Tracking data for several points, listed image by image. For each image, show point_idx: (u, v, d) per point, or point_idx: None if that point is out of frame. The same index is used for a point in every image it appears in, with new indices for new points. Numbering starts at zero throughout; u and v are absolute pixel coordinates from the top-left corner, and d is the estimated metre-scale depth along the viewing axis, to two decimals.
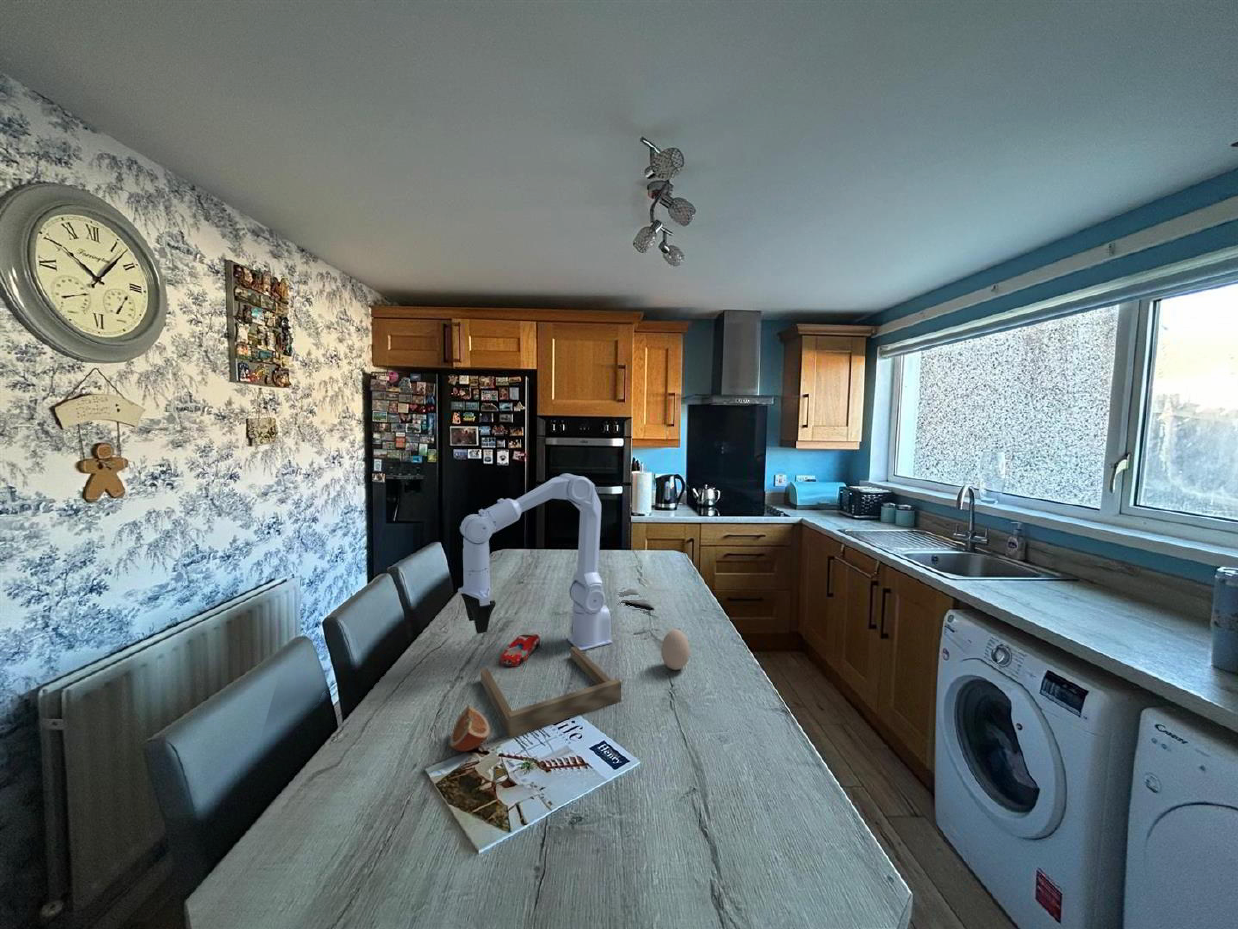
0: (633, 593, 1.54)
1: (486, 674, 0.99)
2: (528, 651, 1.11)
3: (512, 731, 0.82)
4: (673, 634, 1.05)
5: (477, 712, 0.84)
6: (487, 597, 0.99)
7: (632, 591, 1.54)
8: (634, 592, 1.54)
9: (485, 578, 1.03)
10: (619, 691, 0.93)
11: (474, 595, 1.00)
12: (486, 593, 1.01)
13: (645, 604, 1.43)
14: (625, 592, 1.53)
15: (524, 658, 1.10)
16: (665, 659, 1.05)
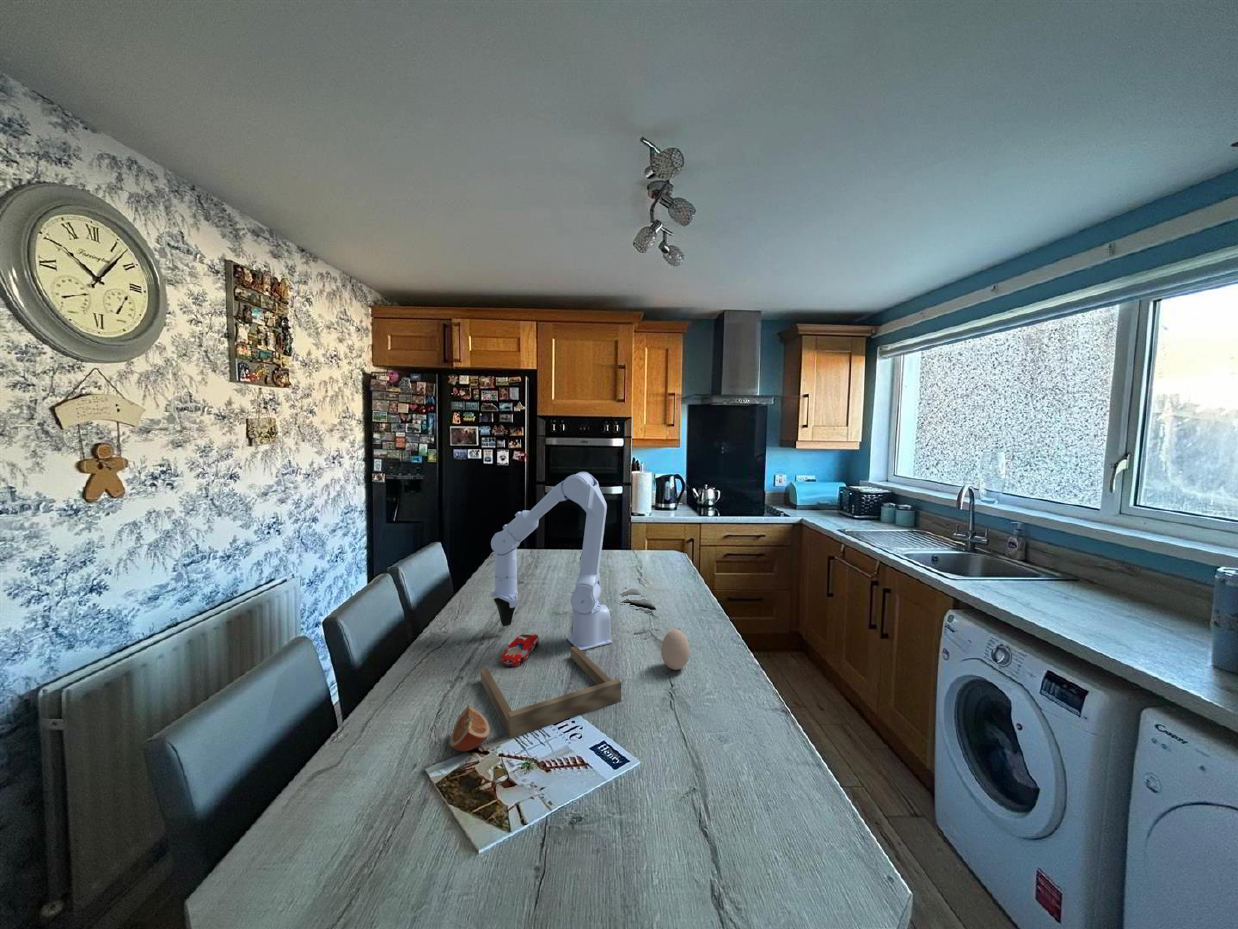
0: (635, 593, 1.54)
1: (486, 674, 0.99)
2: (528, 651, 1.11)
3: (512, 731, 0.82)
4: (673, 634, 1.05)
5: (477, 712, 0.84)
6: (516, 600, 1.16)
7: (634, 591, 1.55)
8: (636, 592, 1.54)
9: (513, 584, 1.21)
10: (619, 691, 0.93)
11: (505, 598, 1.18)
12: (514, 597, 1.19)
13: (647, 604, 1.43)
14: (627, 592, 1.54)
15: (524, 658, 1.10)
16: (665, 659, 1.05)
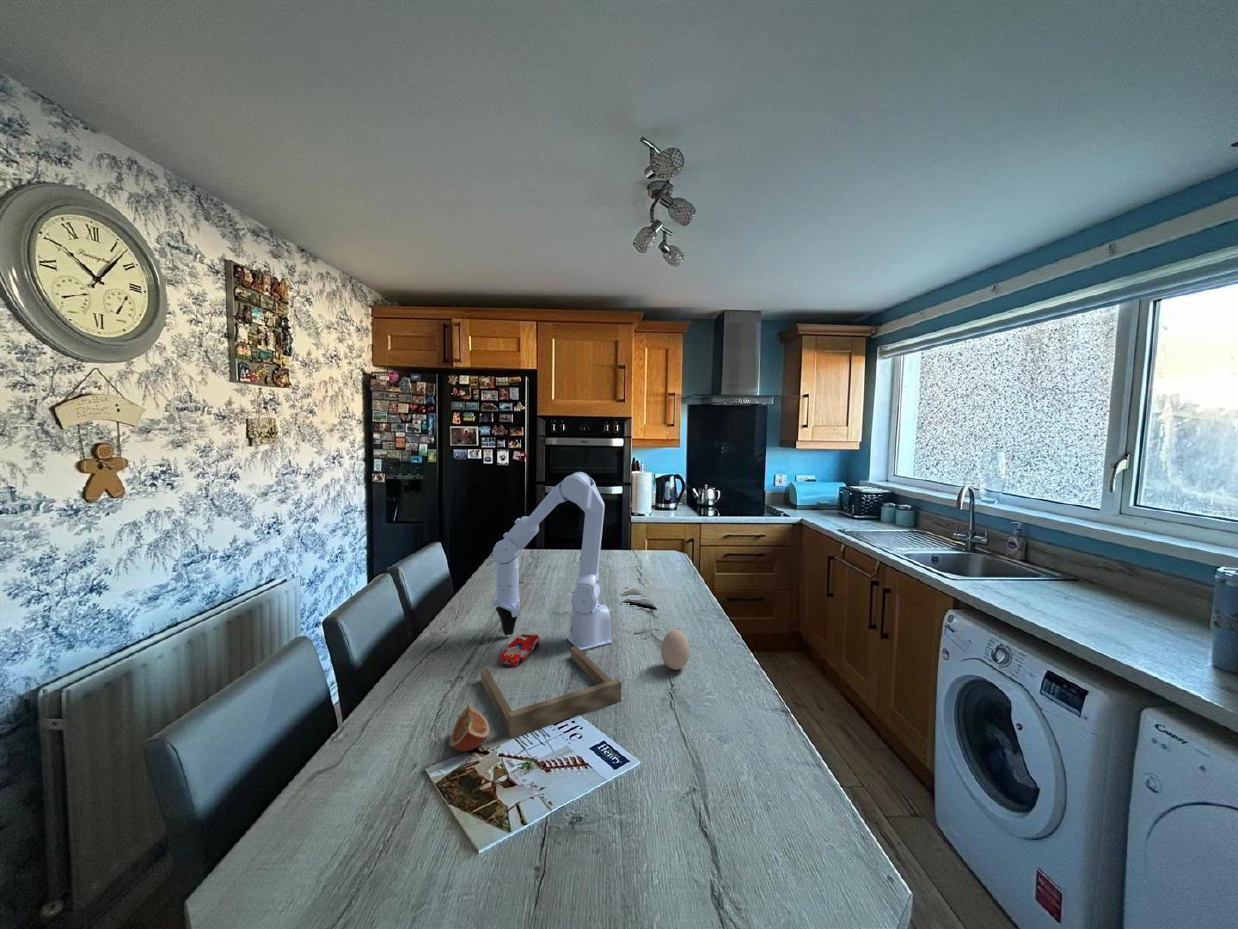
0: (636, 593, 1.54)
1: (486, 674, 0.99)
2: (527, 651, 1.11)
3: (512, 731, 0.82)
4: (673, 634, 1.05)
5: (477, 712, 0.84)
6: (518, 609, 1.15)
7: (635, 591, 1.55)
8: (637, 592, 1.54)
9: (515, 593, 1.20)
10: (619, 691, 0.93)
11: (507, 608, 1.17)
12: (517, 606, 1.18)
13: (648, 604, 1.43)
14: (628, 592, 1.54)
15: (523, 658, 1.10)
16: (665, 659, 1.05)
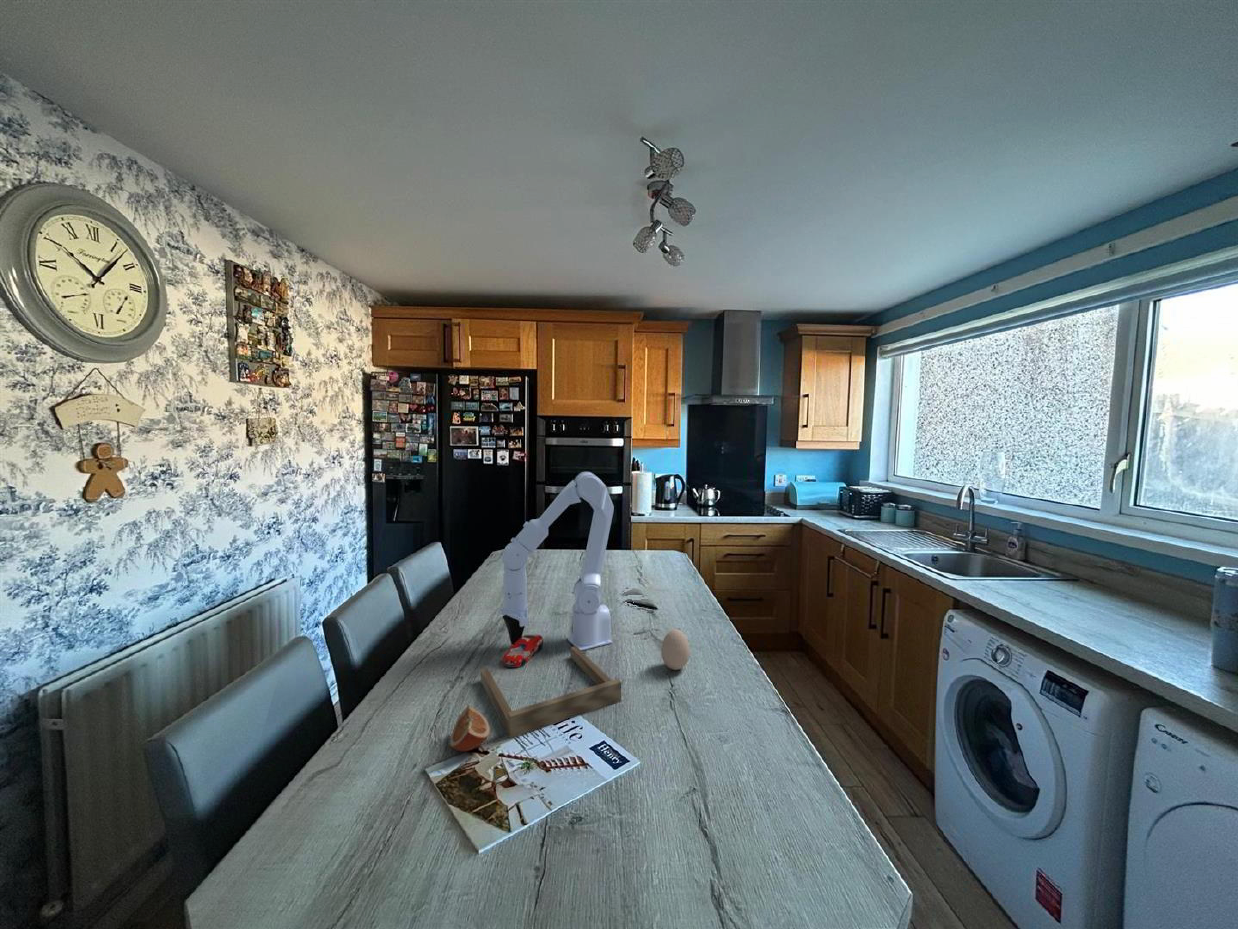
0: (637, 593, 1.54)
1: (486, 674, 0.99)
2: (530, 652, 1.11)
3: (512, 731, 0.82)
4: (673, 634, 1.05)
5: (477, 712, 0.84)
6: (526, 618, 1.10)
7: (636, 591, 1.55)
8: (638, 592, 1.55)
9: (523, 601, 1.14)
10: (619, 691, 0.93)
11: (514, 616, 1.11)
12: (525, 614, 1.12)
13: (649, 604, 1.43)
14: (629, 591, 1.54)
15: (526, 659, 1.09)
16: (665, 659, 1.05)
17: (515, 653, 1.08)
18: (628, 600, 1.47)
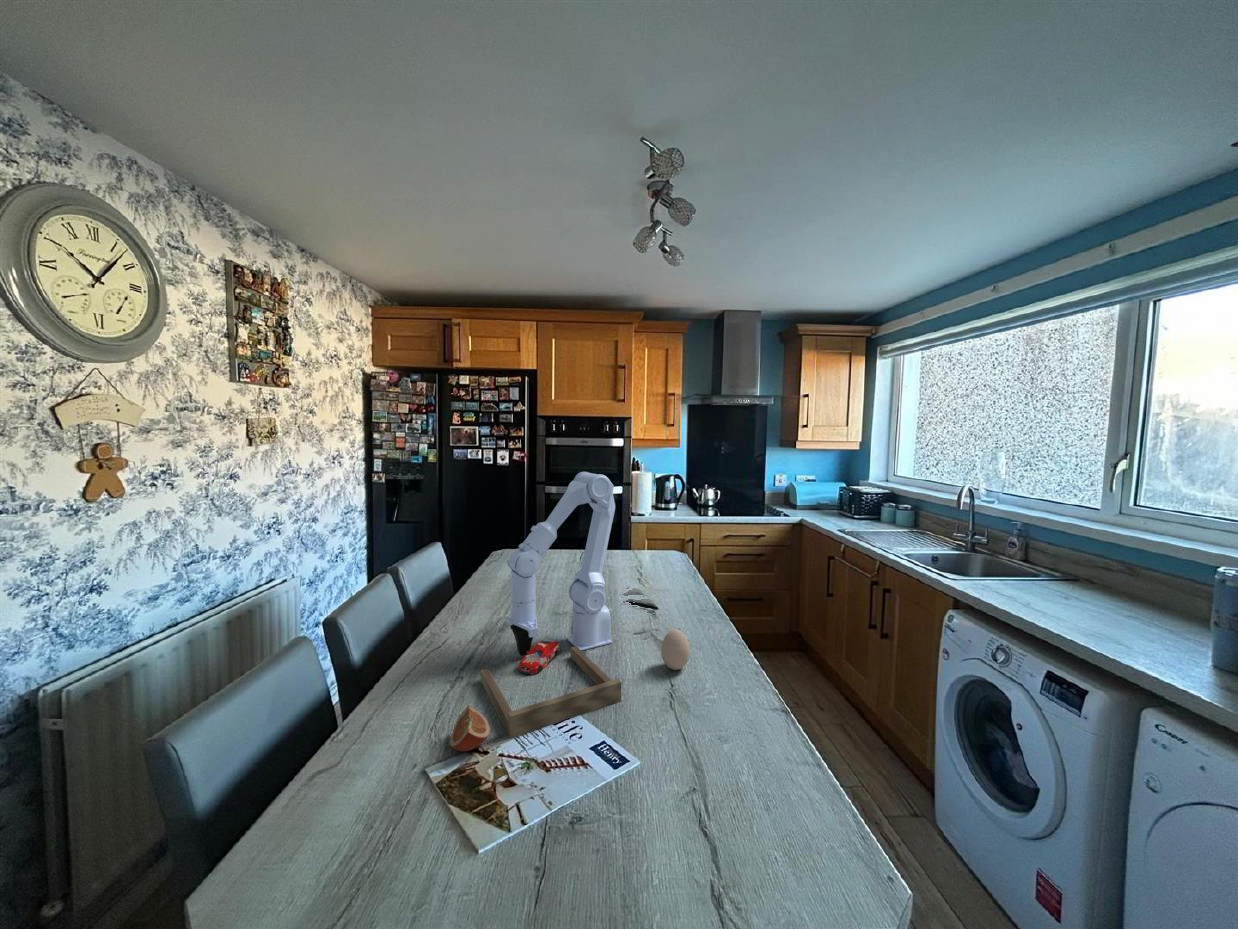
0: (637, 592, 1.54)
1: (486, 674, 0.99)
2: (547, 659, 1.08)
3: (512, 731, 0.82)
4: (673, 634, 1.05)
5: (477, 712, 0.84)
6: (536, 629, 1.04)
7: (636, 590, 1.55)
8: (638, 591, 1.55)
9: (532, 610, 1.08)
10: (619, 691, 0.93)
11: (523, 626, 1.05)
12: (534, 624, 1.06)
13: (649, 603, 1.43)
14: (629, 591, 1.54)
15: (543, 666, 1.06)
16: (665, 659, 1.05)
17: (531, 659, 1.05)
18: (629, 600, 1.47)
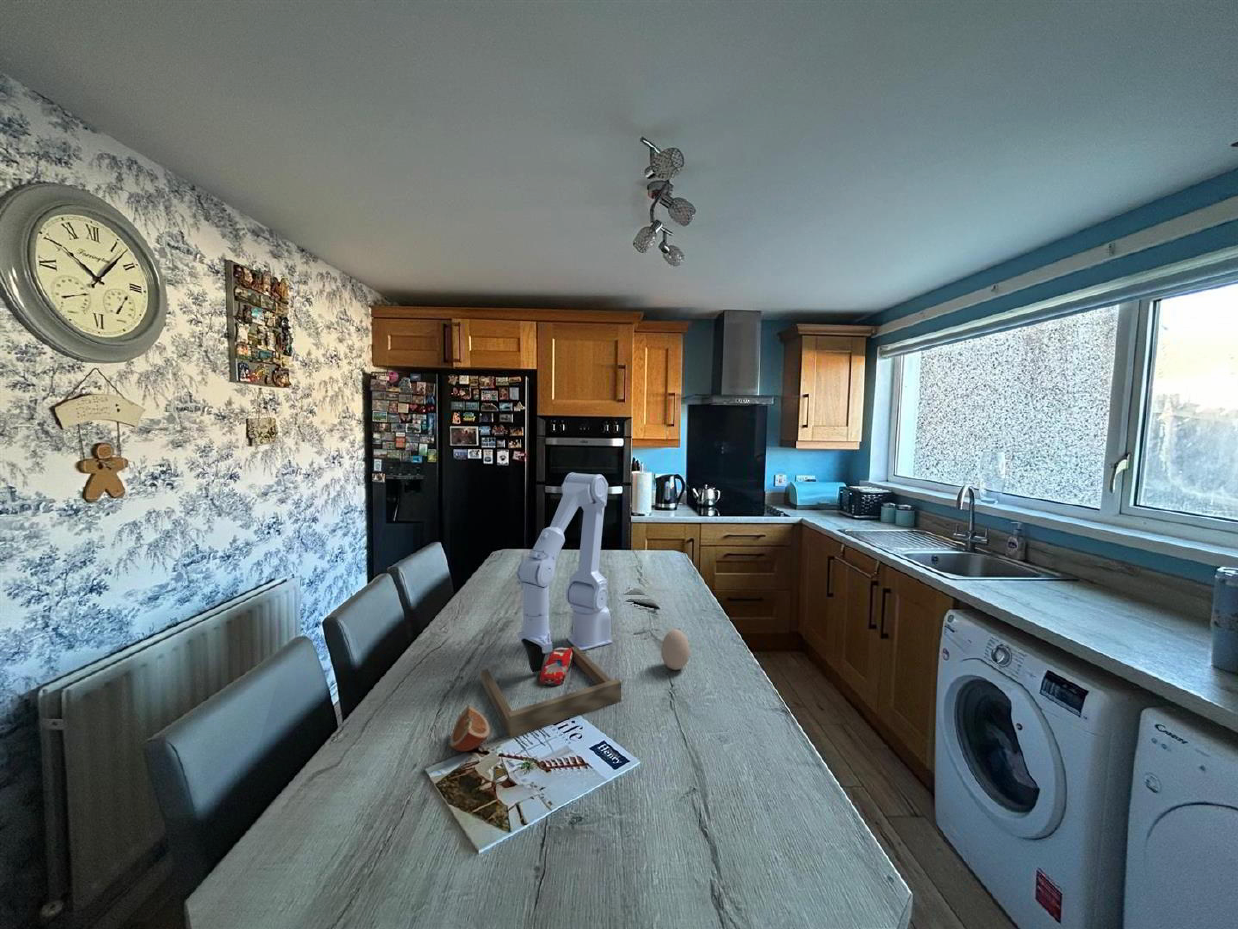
0: (639, 592, 1.54)
1: (486, 674, 0.99)
2: (566, 667, 1.04)
3: (512, 731, 0.82)
4: (673, 634, 1.05)
5: (477, 712, 0.84)
6: (550, 644, 0.97)
7: (638, 590, 1.55)
8: (640, 591, 1.55)
9: (545, 623, 1.01)
10: (619, 691, 0.93)
11: (536, 641, 0.98)
12: (547, 639, 0.99)
13: (651, 603, 1.43)
14: (631, 591, 1.54)
15: (564, 675, 1.02)
16: (665, 659, 1.05)
17: (553, 670, 1.01)
18: (630, 600, 1.47)
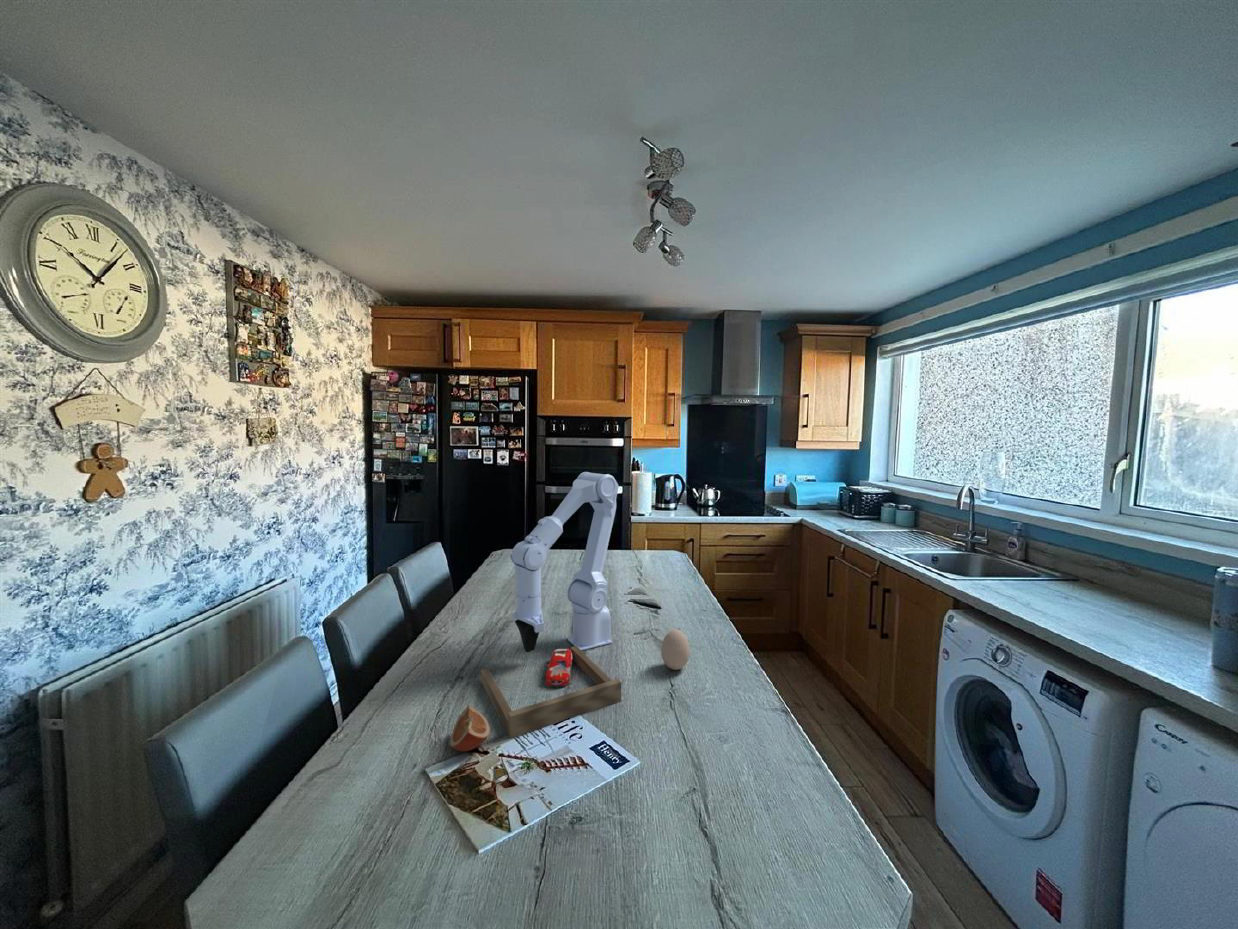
0: (640, 592, 1.55)
1: (486, 674, 0.99)
2: (570, 668, 1.03)
3: (512, 731, 0.82)
4: (673, 634, 1.05)
5: (477, 712, 0.84)
6: (542, 624, 1.01)
7: (639, 590, 1.55)
8: (641, 591, 1.55)
9: (538, 604, 1.05)
10: (619, 691, 0.93)
11: (528, 621, 1.02)
12: (540, 619, 1.03)
13: (652, 603, 1.44)
14: (632, 591, 1.54)
15: (569, 676, 1.02)
16: (665, 659, 1.05)
17: (558, 671, 1.00)
18: (632, 600, 1.47)
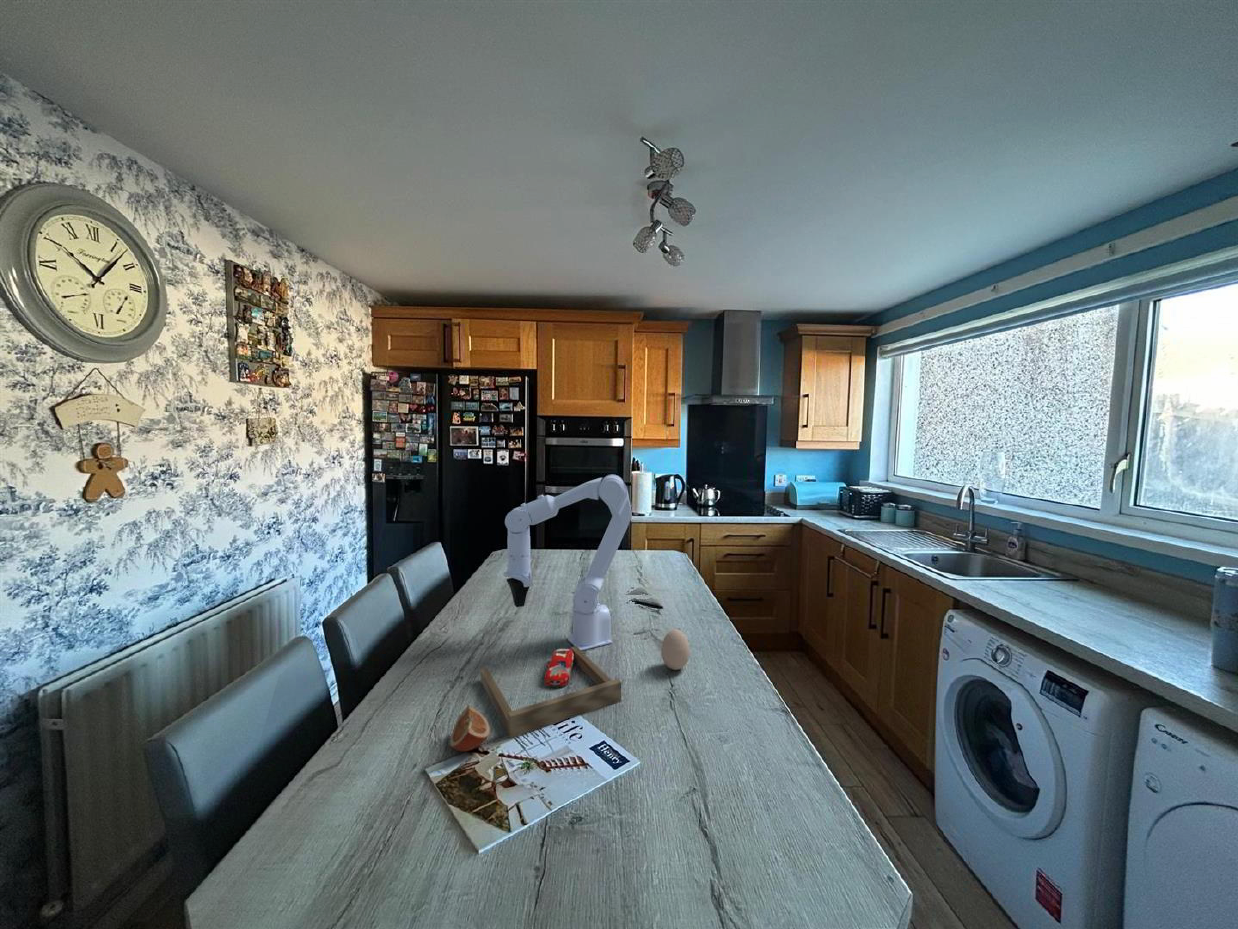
0: (642, 592, 1.55)
1: (486, 674, 0.99)
2: (570, 669, 1.03)
3: (512, 731, 0.82)
4: (673, 634, 1.05)
5: (477, 712, 0.84)
6: (530, 579, 1.13)
7: (641, 590, 1.55)
8: (643, 591, 1.55)
9: (527, 563, 1.17)
10: (619, 691, 0.93)
11: (518, 578, 1.14)
12: (528, 576, 1.15)
13: (654, 603, 1.44)
14: (634, 591, 1.55)
15: (569, 676, 1.02)
16: (665, 659, 1.05)
17: (558, 672, 1.00)
18: (633, 599, 1.47)
